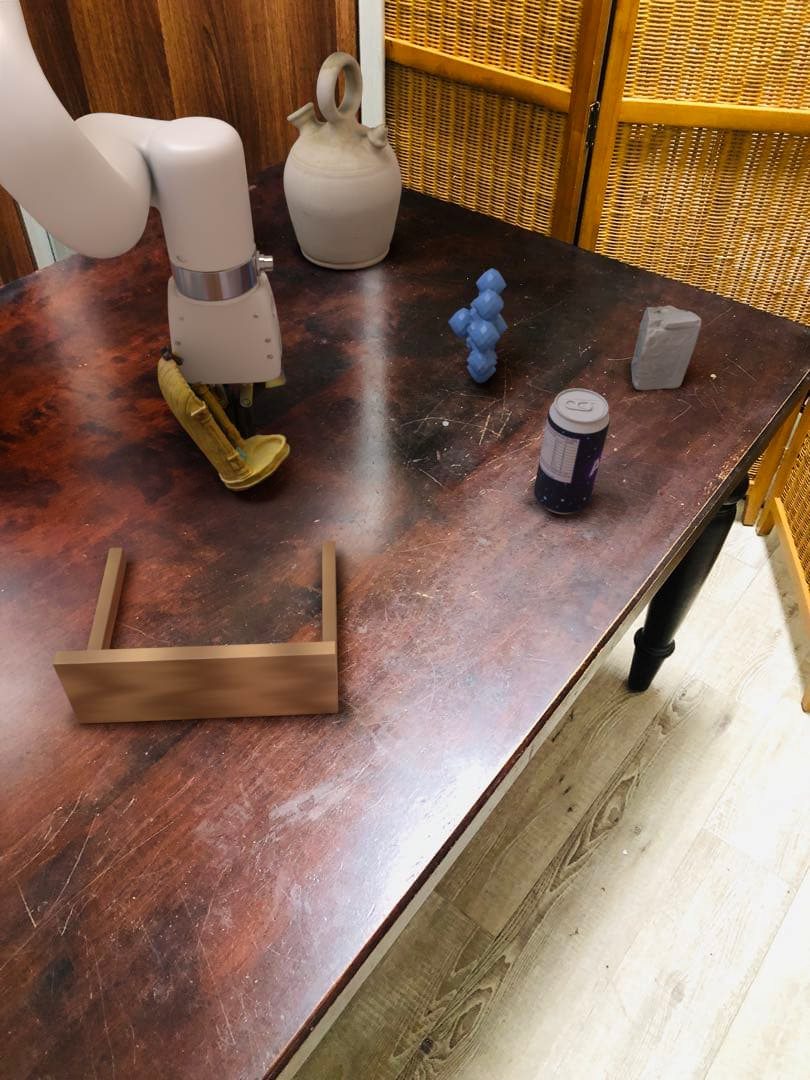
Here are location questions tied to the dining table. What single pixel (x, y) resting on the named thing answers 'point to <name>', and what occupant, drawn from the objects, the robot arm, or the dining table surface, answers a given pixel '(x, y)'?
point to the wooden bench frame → (199, 669)
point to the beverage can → (571, 450)
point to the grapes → (482, 325)
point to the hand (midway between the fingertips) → (240, 429)
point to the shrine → (218, 429)
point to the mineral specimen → (664, 347)
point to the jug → (341, 177)
